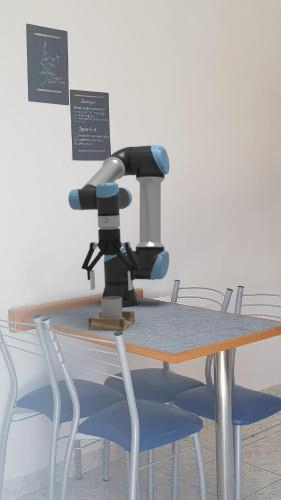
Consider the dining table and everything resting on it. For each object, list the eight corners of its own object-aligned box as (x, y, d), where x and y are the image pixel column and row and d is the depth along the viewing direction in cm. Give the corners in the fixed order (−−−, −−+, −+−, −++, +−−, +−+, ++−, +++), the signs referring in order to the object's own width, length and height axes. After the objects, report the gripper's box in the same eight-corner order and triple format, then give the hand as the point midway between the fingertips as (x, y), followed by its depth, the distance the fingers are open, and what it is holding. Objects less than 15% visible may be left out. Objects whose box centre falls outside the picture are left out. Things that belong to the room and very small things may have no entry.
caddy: (102, 321, 233) (102, 310, 232) (134, 321, 230) (134, 311, 229) (88, 329, 218) (88, 318, 218) (122, 330, 215) (122, 319, 215)
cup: (106, 326, 218) (105, 300, 218) (95, 321, 227) (94, 296, 227) (125, 324, 221) (125, 298, 221) (114, 319, 230) (113, 294, 230)
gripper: (70, 229, 221) (73, 291, 223) (141, 228, 214) (143, 291, 217) (78, 227, 228) (81, 287, 230) (147, 226, 222) (149, 287, 224)
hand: (111, 289), depth 223 cm, fingers open, 13 cm apart
